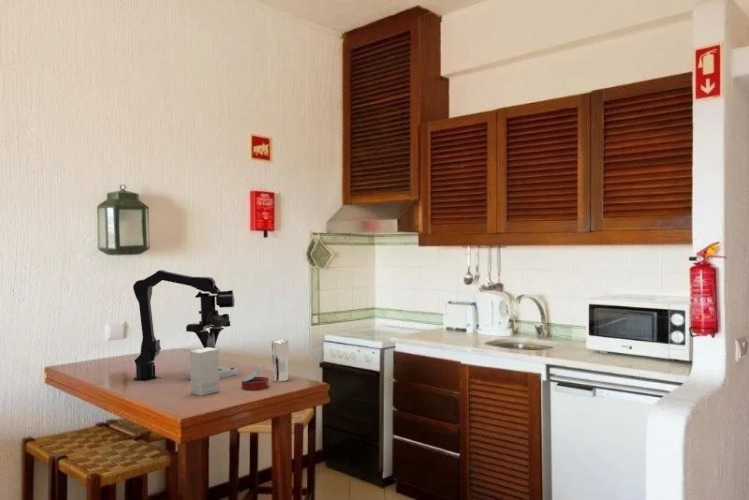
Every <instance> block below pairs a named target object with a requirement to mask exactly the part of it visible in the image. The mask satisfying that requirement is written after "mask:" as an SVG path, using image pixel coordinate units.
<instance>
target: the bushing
mask: <svg viewBox="0 0 749 500" xmlns="http://www.w3.org/2000/svg"><path fill="white" fill-rule="evenodd" d="M207 347H210V348H216V345H215V333H214V332H210V331H208V333H207V345H206V348H207Z"/></svg>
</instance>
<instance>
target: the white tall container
mask: <svg viewBox="0 0 749 500" xmlns="http://www.w3.org/2000/svg"><path fill="white" fill-rule="evenodd" d="M270 343H271V344H270V356H271V364H272V368H273V370H272V371H273V375H272V381H273V382H277V383H278V382H279V383H280V382H286V381H289V374H288V366H289V365H288V364H289V361H290V346H289V340H282V339H280V340H272V341H271V342H270Z"/></svg>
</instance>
